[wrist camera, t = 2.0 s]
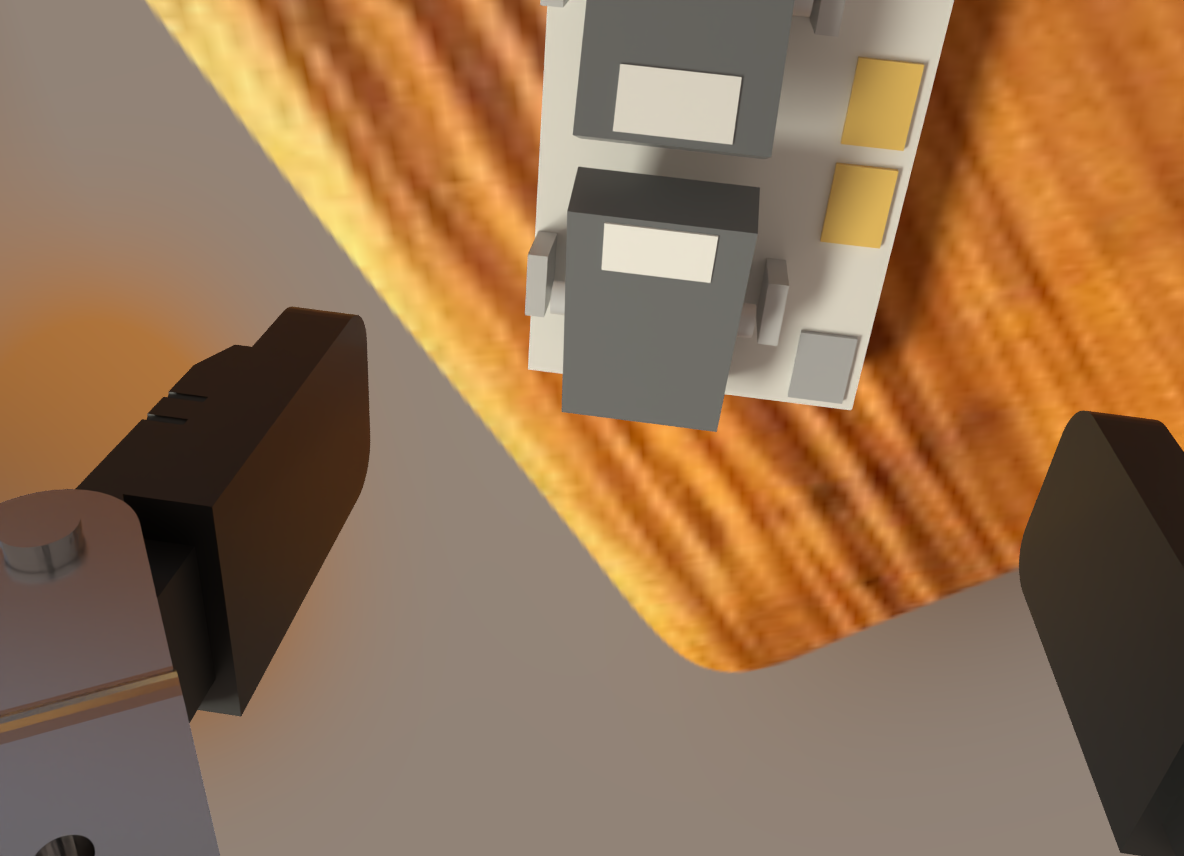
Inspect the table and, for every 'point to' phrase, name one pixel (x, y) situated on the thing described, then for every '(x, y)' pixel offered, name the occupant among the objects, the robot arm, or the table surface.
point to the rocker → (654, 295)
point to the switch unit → (775, 189)
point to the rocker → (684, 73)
